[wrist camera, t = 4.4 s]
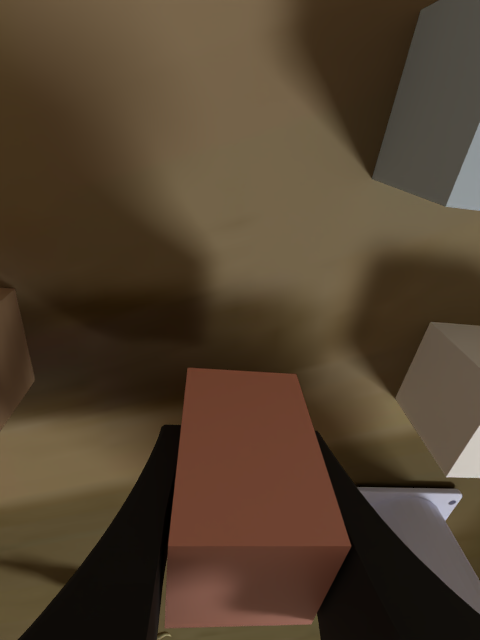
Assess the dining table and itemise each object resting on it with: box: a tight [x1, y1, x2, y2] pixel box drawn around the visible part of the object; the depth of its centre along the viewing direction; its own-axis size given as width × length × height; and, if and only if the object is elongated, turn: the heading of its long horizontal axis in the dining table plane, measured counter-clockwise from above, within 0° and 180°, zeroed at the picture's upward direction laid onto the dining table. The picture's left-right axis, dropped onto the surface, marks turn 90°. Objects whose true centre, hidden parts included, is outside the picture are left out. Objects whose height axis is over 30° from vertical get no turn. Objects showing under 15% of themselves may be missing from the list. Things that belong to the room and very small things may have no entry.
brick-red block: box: [165, 368, 351, 628], centre depth 11 cm, size 4×4×6 cm
